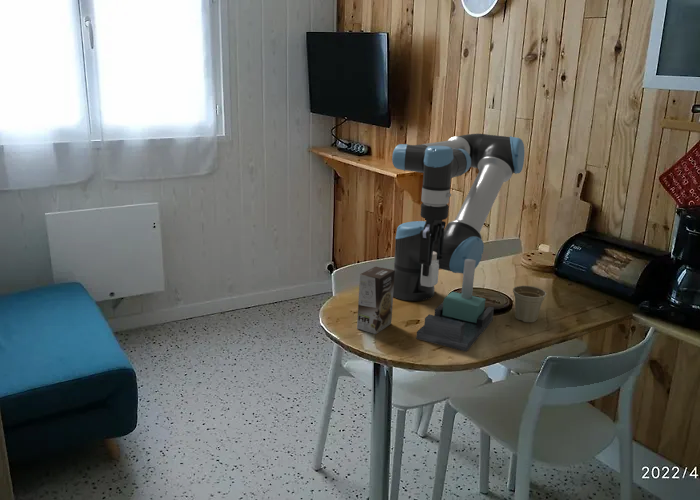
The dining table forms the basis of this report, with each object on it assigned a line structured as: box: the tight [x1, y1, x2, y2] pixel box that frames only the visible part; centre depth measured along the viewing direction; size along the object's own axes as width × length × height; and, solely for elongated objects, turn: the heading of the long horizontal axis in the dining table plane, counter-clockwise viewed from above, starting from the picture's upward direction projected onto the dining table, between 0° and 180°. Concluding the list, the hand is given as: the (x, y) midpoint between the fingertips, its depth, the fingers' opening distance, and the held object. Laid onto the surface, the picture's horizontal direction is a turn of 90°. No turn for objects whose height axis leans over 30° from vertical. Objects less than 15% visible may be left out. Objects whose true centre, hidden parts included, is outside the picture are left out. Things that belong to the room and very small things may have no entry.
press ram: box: [442, 259, 486, 323], centre depth 172 cm, size 10×7×16 cm
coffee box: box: [356, 266, 395, 335], centre depth 168 cm, size 9×6×16 cm
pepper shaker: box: [420, 251, 440, 287], centre depth 172 cm, size 4×4×10 cm
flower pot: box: [512, 285, 547, 323], centre depth 178 cm, size 9×9×9 cm
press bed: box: [415, 302, 495, 353], centre depth 169 cm, size 14×24×6 cm, turn 151°
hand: (429, 283), depth 174 cm, fingers closed on pepper shaker, 4 cm apart
